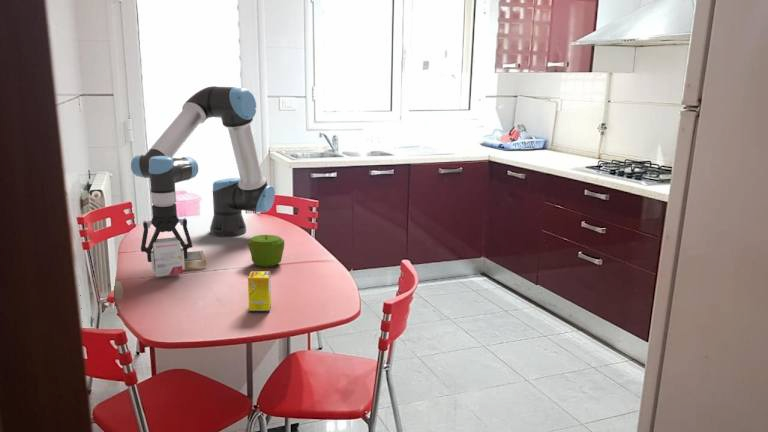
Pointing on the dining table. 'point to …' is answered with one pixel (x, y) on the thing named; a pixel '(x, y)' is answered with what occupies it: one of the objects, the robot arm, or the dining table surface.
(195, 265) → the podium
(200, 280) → the dining table surface
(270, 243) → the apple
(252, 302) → the supplement box
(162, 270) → the ink box
